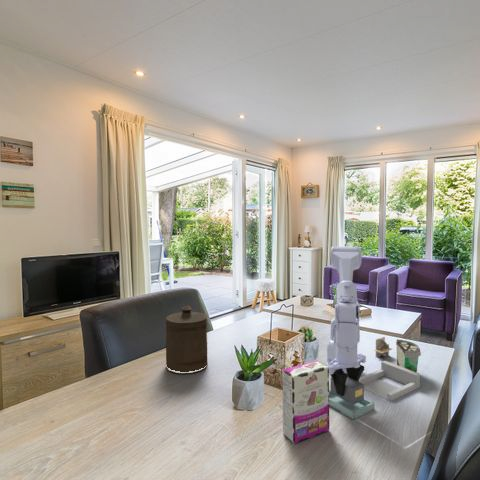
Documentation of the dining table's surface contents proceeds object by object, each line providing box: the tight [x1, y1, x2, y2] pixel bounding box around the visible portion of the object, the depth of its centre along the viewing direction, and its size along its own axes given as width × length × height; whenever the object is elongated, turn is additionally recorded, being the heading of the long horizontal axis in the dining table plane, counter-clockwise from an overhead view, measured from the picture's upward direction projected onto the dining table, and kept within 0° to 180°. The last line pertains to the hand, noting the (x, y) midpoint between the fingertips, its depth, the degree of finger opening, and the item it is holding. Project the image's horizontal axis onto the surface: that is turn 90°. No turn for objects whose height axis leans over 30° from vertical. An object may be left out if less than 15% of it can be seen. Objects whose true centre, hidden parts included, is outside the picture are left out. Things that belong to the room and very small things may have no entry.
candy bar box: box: [281, 360, 330, 445], centre depth 85 cm, size 11×5×16 cm, turn 118°
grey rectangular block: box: [330, 377, 365, 405], centre depth 98 cm, size 8×4×4 cm, turn 33°
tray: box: [329, 388, 375, 421], centre depth 98 cm, size 12×9×2 cm
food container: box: [395, 339, 422, 373], centre depth 117 cm, size 12×6×10 cm, turn 168°
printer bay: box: [358, 360, 421, 402], centre depth 108 cm, size 12×15×4 cm
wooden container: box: [165, 305, 208, 372], centre depth 125 cm, size 15×15×22 cm
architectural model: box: [374, 336, 393, 358], centre depth 132 cm, size 3×7×7 cm, turn 124°
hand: (346, 392), depth 98 cm, fingers closed on grey rectangular block, 4 cm apart
